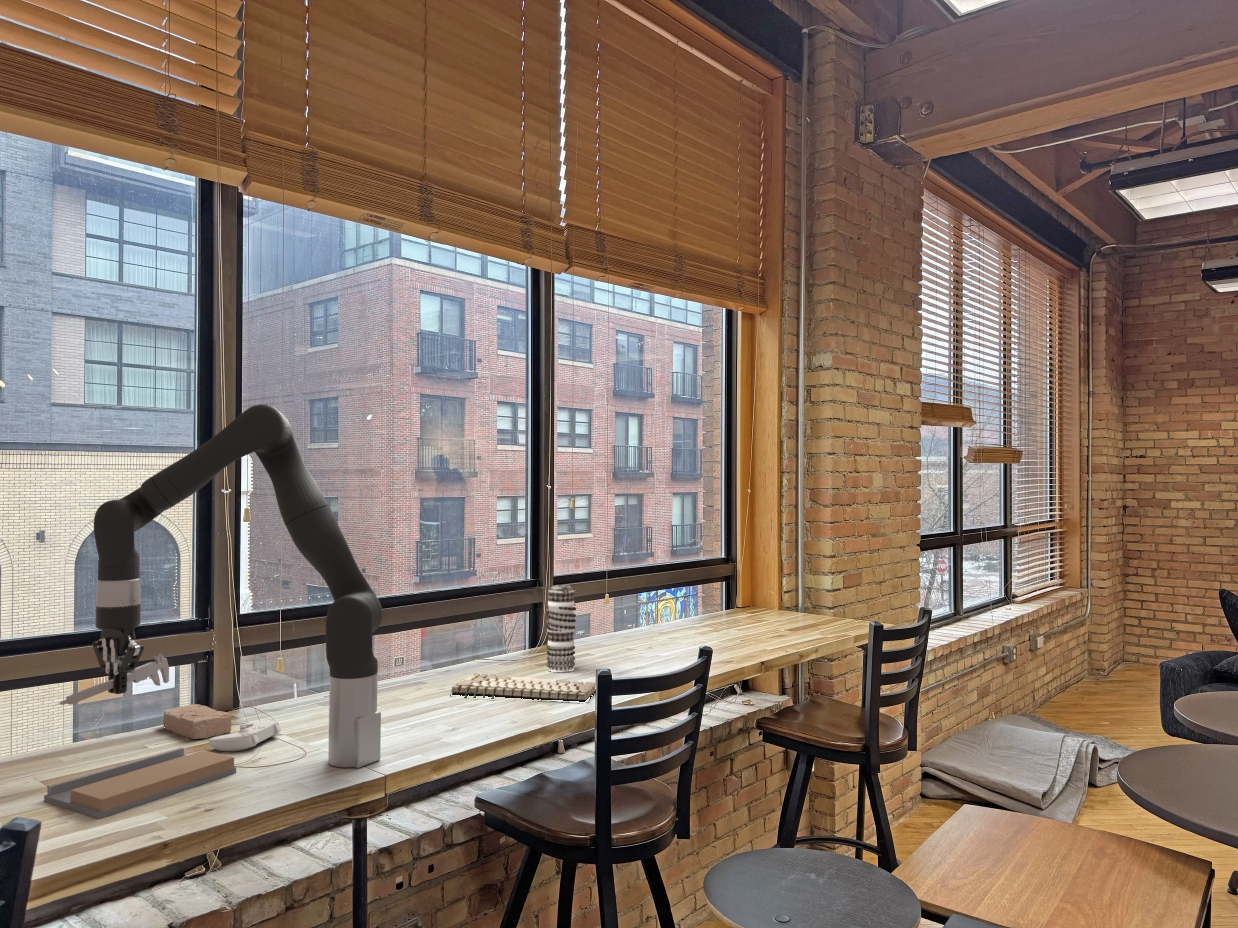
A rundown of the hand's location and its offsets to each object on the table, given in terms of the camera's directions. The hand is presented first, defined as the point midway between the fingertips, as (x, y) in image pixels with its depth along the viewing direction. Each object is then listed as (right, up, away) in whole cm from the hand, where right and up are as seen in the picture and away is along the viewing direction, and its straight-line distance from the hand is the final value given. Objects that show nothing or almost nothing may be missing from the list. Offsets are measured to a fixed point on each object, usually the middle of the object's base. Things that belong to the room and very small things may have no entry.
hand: (117, 692), depth 165 cm
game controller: (+18, -16, +17) cm, 29 cm away
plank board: (+11, -15, -10) cm, 20 cm away
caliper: (0, -1, 0) cm, 1 cm away
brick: (+2, -16, +26) cm, 30 cm away
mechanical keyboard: (+72, -18, +63) cm, 97 cm away
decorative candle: (+79, -18, +91) cm, 122 cm away
